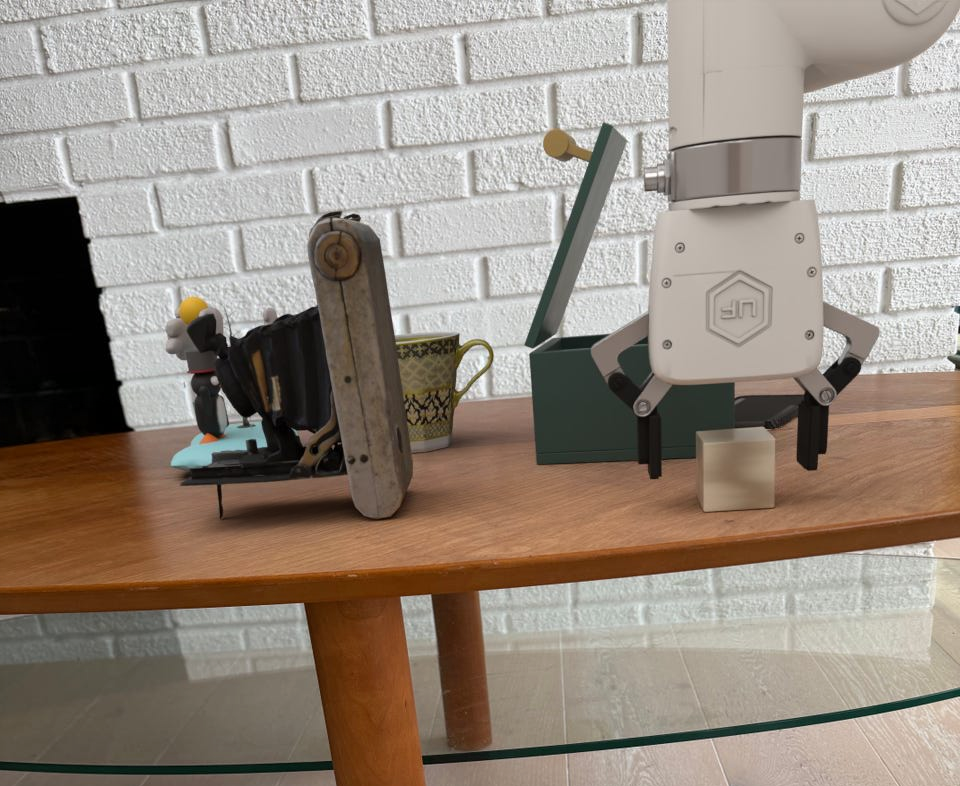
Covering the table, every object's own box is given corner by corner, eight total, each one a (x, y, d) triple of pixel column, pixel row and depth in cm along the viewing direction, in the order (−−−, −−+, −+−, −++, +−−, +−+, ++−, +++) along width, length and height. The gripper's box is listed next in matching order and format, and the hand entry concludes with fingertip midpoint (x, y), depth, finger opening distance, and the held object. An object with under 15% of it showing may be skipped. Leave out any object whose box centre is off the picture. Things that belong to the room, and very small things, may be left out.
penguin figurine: (276, 475, 88) (246, 293, 83) (155, 486, 88) (118, 305, 83) (309, 437, 107) (287, 286, 102) (209, 445, 107) (182, 296, 102)
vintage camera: (226, 509, 79) (165, 239, 72) (419, 486, 78) (378, 210, 71) (190, 544, 70) (116, 241, 63) (407, 519, 69) (358, 207, 62)
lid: (627, 140, 84) (569, 118, 84) (613, 125, 72) (546, 100, 73) (556, 334, 91) (503, 313, 91) (533, 349, 79) (472, 325, 80)
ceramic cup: (353, 460, 92) (338, 347, 88) (377, 440, 101) (364, 337, 97) (494, 451, 90) (485, 335, 86) (505, 432, 99) (497, 326, 96)
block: (763, 492, 68) (763, 426, 66) (774, 508, 63) (776, 438, 62) (696, 496, 68) (695, 431, 67) (703, 512, 64) (703, 443, 62)
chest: (732, 427, 91) (732, 324, 88) (734, 456, 79) (734, 338, 76) (558, 436, 94) (552, 337, 91) (536, 464, 83) (528, 353, 80)
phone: (691, 420, 92) (740, 394, 103) (691, 433, 92) (740, 406, 104) (778, 420, 88) (819, 393, 100) (778, 433, 88) (818, 405, 100)
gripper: (585, 190, 56) (596, 491, 62) (906, 162, 54) (885, 475, 61) (585, 197, 63) (594, 466, 69) (869, 172, 61) (853, 452, 67)
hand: (729, 470), depth 65 cm, fingers open, 9 cm apart
